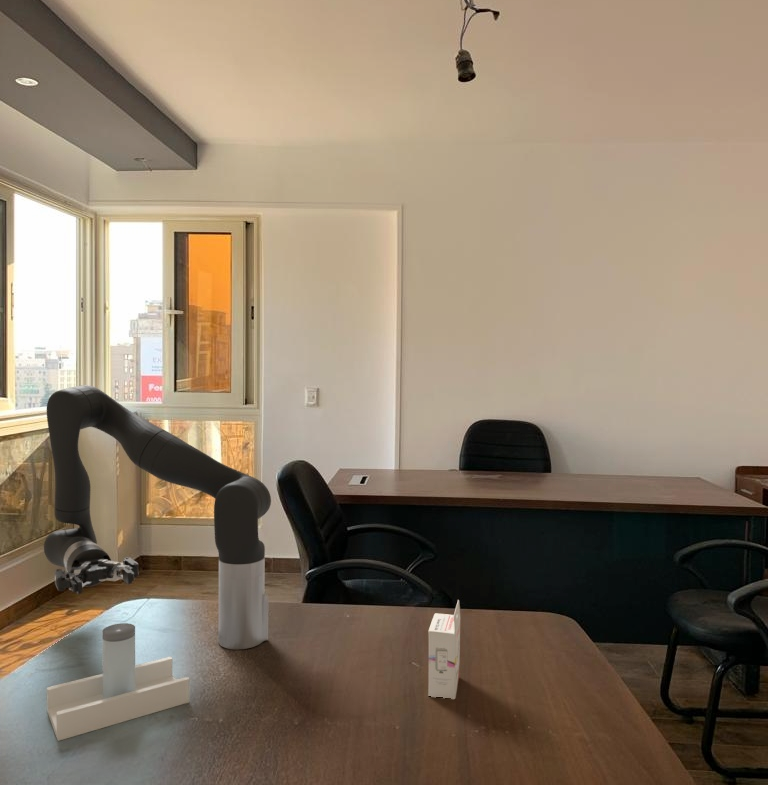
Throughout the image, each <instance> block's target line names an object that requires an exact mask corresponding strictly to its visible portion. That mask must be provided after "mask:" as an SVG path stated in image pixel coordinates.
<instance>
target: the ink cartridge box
mask: <svg viewBox="0 0 768 785" xmlns="http://www.w3.org/2000/svg"><path fill="white" fill-rule="evenodd" d="M427 632H428V633H427V634H428V692H427V693H428V694H427V697H428V696H431V697H430V698H436V697H443V698H442V699H445V698H451V699H450V700H456V698H457V692H458V684H459V678H460V656H461V655H460V651H461V650H460V649H461V648H460V647H461V644H460V643H461V606H460V600H459V599H457V603H456V606H455V610H454V614H446V613H437V612H436V613H434V614H433V617H432V619H431V623H430V626H429V628H428V631H427Z"/></svg>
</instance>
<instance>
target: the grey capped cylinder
mask: <svg viewBox="0 0 768 785" xmlns="http://www.w3.org/2000/svg"><path fill="white" fill-rule="evenodd" d="M101 637H102V639H101V643H102V645H101V647H102V650H101V652H102V657H101V658H102V666H101V667H102V673H101V674H103V699H106V698H110V697H114V696H117V695H121V694H125V693H128V692H132V691H135V665H136V626H135V624H132V623H128V622H127V623H126V622H124V623H123V622H121V623H114V624H112V625H108V626H106V627H104V628H103V630H102V636H101Z"/></svg>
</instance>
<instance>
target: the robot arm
mask: <svg viewBox="0 0 768 785" xmlns="http://www.w3.org/2000/svg"><path fill="white" fill-rule="evenodd" d="M46 418H47V419H46V420H47V427H48V433H49V434H48V435H49V439H50V440H49V441H50V442H49V443H50V448H51V454H52V455H51V456H52V460H53V466H54V467H53V468H54V478H55V480H54V481H55V488H54V489H55V491H54V517H55V519H56V520H57V521H58V522H59V523H63V524H70V525H75V526H79V527H76V528H68V529H59V530H55V531H52V532H51V533H49V534H48V535H47V537H46V538H45V539H44V543H43V552H44V555H45V557H46V559H47V560H48V561H49V563H51V564H53V565H55V566H58V567H62V568H64V569H65V570H63V569H61V568H57V569H55V570H54V584H55V587H56V589H57V591H58V592H64V591H66V589H67V588H68V590H69V591H71V592H72V593H76V594H77V595H80V594H81V595H82V594H83V588H84V587H86V588H87V587H88V588H89V587H94V586H97V585H99V584H101V583H102V582H105V581H110V582H116V581H119V580H123V582H124V583H125V584H126V585H131V584H133V582H134V581H135V578H137V577H139V563H138V562H137V561H135V560H134V559H133V558H132V557H128V556H127V557H126V556H125V557H124V558H123V560H122V562H120V561H115V560H112V559H111V557H110V555H109V554H108V552H106V551H105V550H104V548H102V547H101V546H100V545H99V544H98V540H97V536H96V533H95V531H94V527H93V524H92V519H91V481H90V476H89V474H88V472H87V469H86V468H85V466H84V464H83V461H82V460H81V457H80V456H81V455H80V453H79V439H80V438H79V437H80V432H81V430H83V429H86V428H94V429H97V430H99V431H102V432H104V433H105V434H107V435H109V436H111V437H112V438H114V439H115V440H116V441H118V443H119V444H120V446H121V448H122V449H123V451H124V452H125V454H126V456H127V457H128V458H129V460H130V461H131V462H132V463H133V464H134V465H135V466H137V467H138V468H140V469H142V470H143V471H145V472H147V473H148V474H150V475H152V476H153V477H156V478H158V479H160V480H162V481H164V482H167V483H171V484H175V485H177V486H181V487H185V488H188V489H193V490H196V491H200V492H202V493H205V494H206V495H208V496H210V497H212V498H214V504H213V505H214V506H213V521H214V522H213V523H214V525H213V526H214V527H213V528H214V529H213V530H214V542H215V547H216V549H217V551H218V631H217V636H218V639H217V640H218V644H219V646H221V647H223V648H225V649H229V650H245V649H250V648H254V647H256V646H257V647H258V645H260V644H262V643H263V642H265V641H268V640H269V594H268V593H266V592H265V579H266V578H265V576H266V575H265V561H266V560H265V559H266V558H265V555H266V554H265V552H266V551H265V550H266V549H265V548H266V546H265V543H264V542H263V541H262V540H260V538H259V519H261V518H262V517H263V516H265V514H266V513H267V512H268V511H269V510H270V508H271V504H272V497H271V493H270V491H269V489H268V488H267V486H266V485H265V483H264V482H262V481H260V479H258V478H256V477H253V476H251V475H249V474H246V473H245V472H242V471H239V470H237V469H235V468H232V467H230V466H228V465H226V464H224V463H221V462H220V461H218V460H216V459H214V458H213V457H211V456H209V455H208V454H206V453H205V452H203V451H201V450H199V449H198V448H196V447H194V446H193V445H190V444H189V443H187V442H186V441H184V440H183V439H182V438H180V437H178V436H176V435H174V434H173V433H171V432H169V431H167V430H165V429H164V428H161V427H160V426H157V425H155V424H154V423H152V422H150V421H149V420H147V419H145V418H143V417H142V416H140V415H138V414H137V413H134V412H132V411H131V410H130V409H128V408H126V407H125V406H123V405H122V404H120V403H119V402H118V401H117V400H115V399H113V398H112V397H111V396H109V395H108V394H107V393H106V392H104V391H102V390H101V389H99V388H98V387H95V386H92V385H88V384H81V385H76V386H71V387H66V388H62V389H59V390H57V391H55V392H53V393H52V394H51V395H50V397H48V400H47V403H46Z"/></svg>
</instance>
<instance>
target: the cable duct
mask: <svg viewBox="0 0 768 785" xmlns="http://www.w3.org/2000/svg"><path fill="white" fill-rule="evenodd" d="M189 703H190V678H189V676H184V677H181V678H177V679H176V678H175V677H174V675H173V658H172V656H167V657H162V658H160V659H155V660H151V661H148V662H144V663H143V662H142V663H140V664H135V691H132V692H128V693H125V694H121V695H117V696H114V697H110V698H106V699H103V673H100V674H97V675H90V676H88V677H84V678H79V679H76V680H72V681H68V682H64V683H59V684H55V685H52V686H48V687H46V713H47V715H48V718H49V720H50V723H51V726H52V729H53V732H54V734H55V737H56V740H57V742H58V741H59V742H60V741H62V740H66V739H69V738H73V737H77V736H79V735H83V734H86V733H89V732H93V731H96V730H100V729H104V728H107V727H110V726H115V725H117V724H120V723H124V722H128V721H131V720H133V719H137V718H140V717H144V716H147V715H151V714H154V713H157V712H162V711H165V710H167V709H170V708H174V707H178V706H181V705H182V706H183V705H185V704H189Z"/></svg>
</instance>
